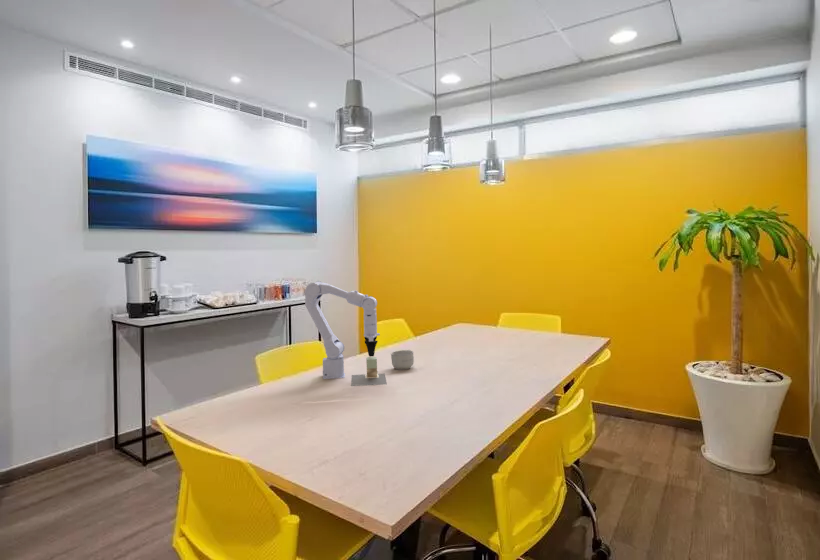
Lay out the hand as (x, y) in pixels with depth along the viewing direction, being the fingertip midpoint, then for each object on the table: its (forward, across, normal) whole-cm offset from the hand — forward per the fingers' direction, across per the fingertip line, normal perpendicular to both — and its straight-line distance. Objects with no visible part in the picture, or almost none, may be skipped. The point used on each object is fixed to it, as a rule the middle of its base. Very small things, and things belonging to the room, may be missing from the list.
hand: (371, 354), depth 211 cm
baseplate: (+10, -5, +2) cm, 12 cm away
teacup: (+11, +14, -16) cm, 24 cm away
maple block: (+10, 0, 0) cm, 10 cm away
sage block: (+6, 0, 0) cm, 6 cm away
